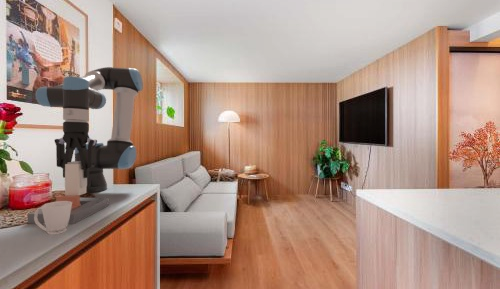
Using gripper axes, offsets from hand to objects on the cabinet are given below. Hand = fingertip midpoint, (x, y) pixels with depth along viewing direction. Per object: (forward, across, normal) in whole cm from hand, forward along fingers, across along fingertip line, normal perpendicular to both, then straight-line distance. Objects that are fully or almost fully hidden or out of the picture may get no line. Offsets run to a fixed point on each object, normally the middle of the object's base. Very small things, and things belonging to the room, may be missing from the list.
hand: (76, 186), depth 88 cm
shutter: (+6, 0, -7) cm, 9 cm away
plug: (+3, 0, 0) cm, 3 cm away
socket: (+9, 0, -2) cm, 9 cm away
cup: (+9, +5, -18) cm, 21 cm away
